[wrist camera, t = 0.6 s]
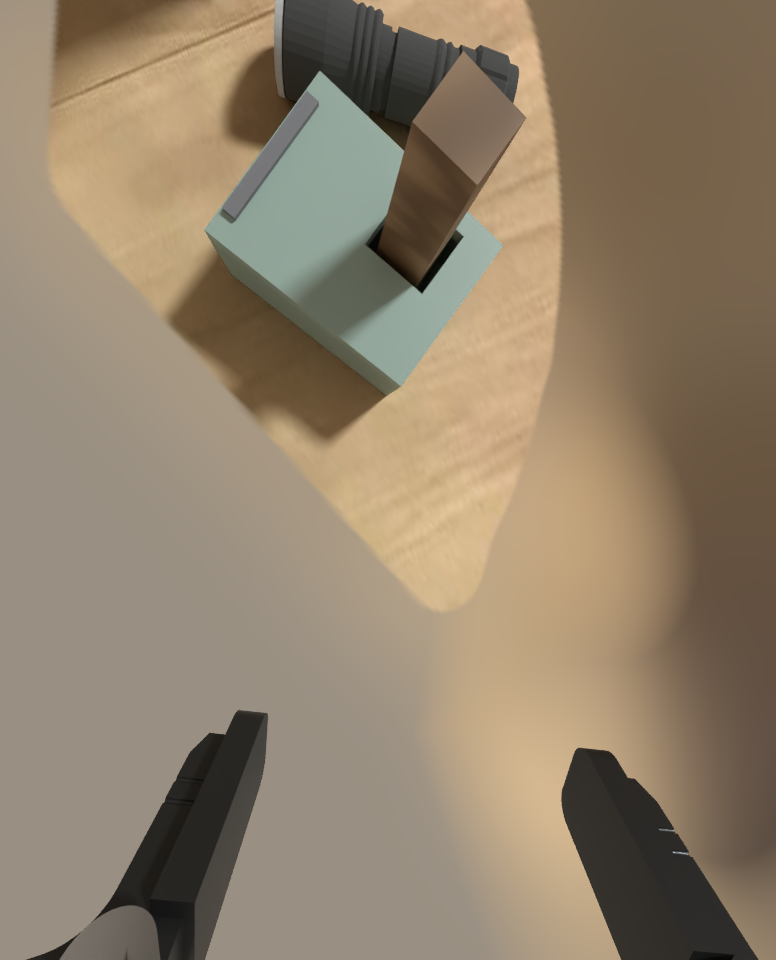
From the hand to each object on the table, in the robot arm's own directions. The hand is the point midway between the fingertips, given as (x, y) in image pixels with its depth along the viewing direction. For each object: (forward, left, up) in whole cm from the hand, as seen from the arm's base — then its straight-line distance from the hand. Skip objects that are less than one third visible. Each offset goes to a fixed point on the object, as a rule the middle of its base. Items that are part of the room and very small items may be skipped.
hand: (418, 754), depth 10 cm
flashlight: (-17, +27, -22) cm, 39 cm away
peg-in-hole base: (-12, +16, -21) cm, 29 cm away
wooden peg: (-9, +18, -20) cm, 29 cm away
